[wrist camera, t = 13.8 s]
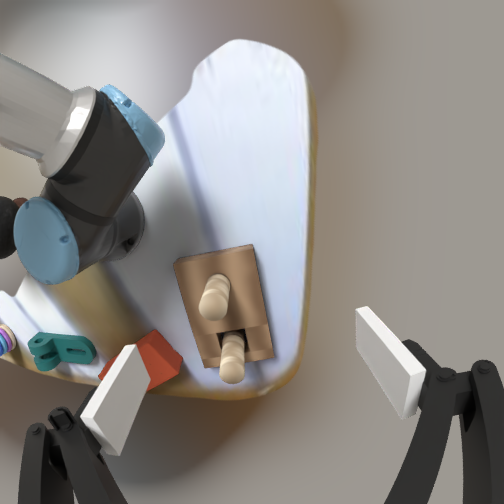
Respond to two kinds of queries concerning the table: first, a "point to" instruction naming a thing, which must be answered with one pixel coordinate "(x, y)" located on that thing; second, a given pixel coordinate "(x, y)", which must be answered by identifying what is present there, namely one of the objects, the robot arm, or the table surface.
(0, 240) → the black ball on stand
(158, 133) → the robot arm
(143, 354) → the brick
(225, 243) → the table surface
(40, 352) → the bracket
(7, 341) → the stacking toy
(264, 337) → the walnut board
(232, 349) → the beech leg
